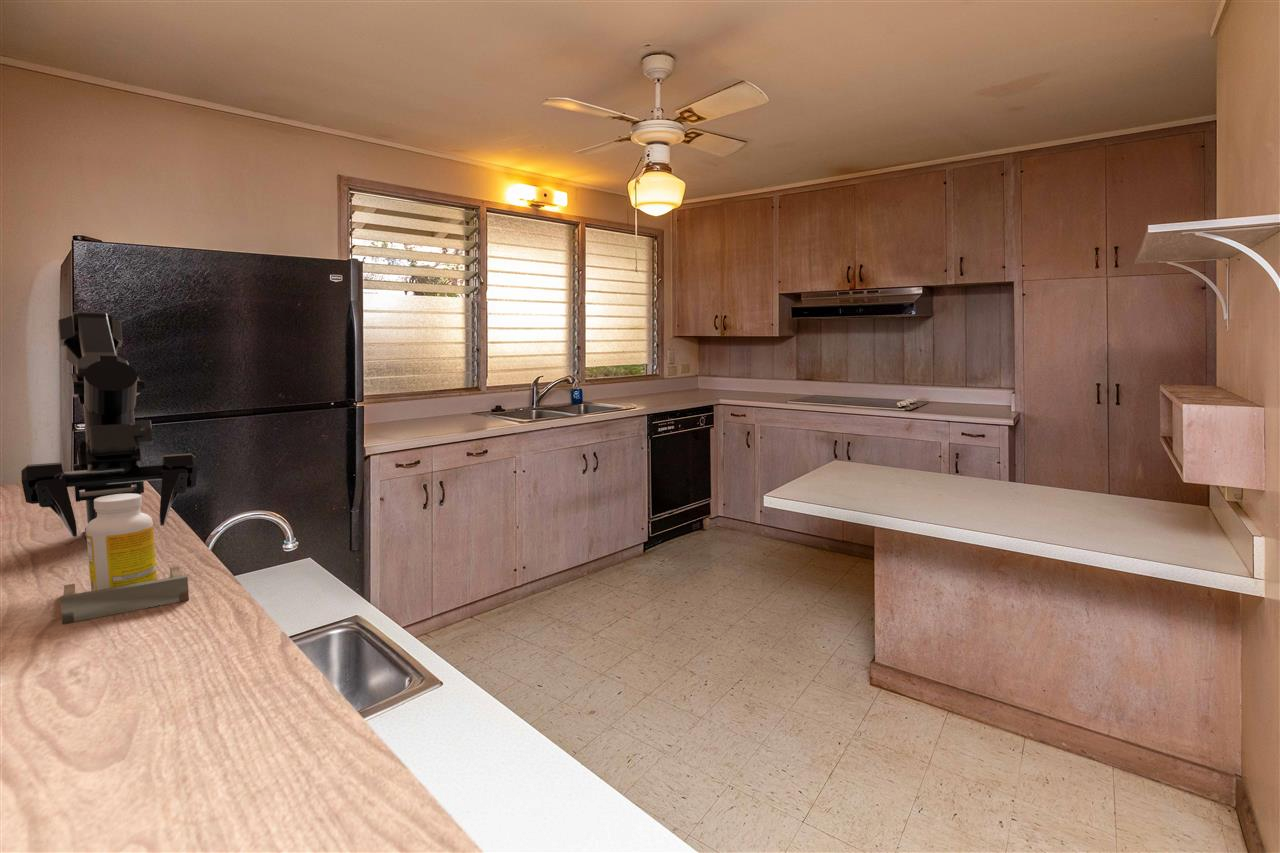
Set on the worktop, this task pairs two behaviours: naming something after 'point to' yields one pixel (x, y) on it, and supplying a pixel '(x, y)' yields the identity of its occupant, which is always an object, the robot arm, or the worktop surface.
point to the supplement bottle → (120, 543)
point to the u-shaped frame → (123, 597)
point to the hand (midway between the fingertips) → (120, 529)
